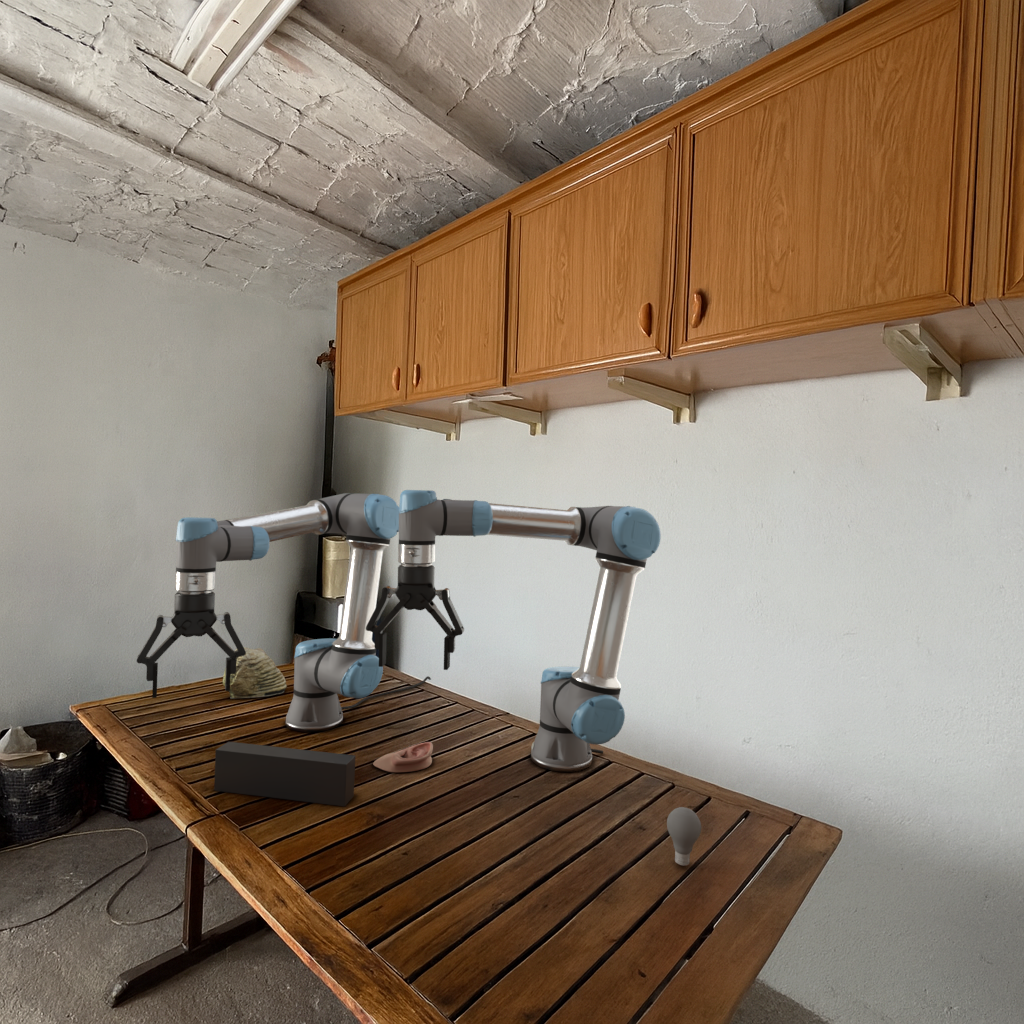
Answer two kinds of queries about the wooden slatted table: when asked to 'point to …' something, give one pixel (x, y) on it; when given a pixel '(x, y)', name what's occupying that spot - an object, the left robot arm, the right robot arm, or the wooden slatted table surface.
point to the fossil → (255, 676)
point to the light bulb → (683, 832)
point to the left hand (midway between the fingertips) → (191, 692)
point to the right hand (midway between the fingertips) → (414, 666)
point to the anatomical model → (407, 759)
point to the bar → (285, 773)
